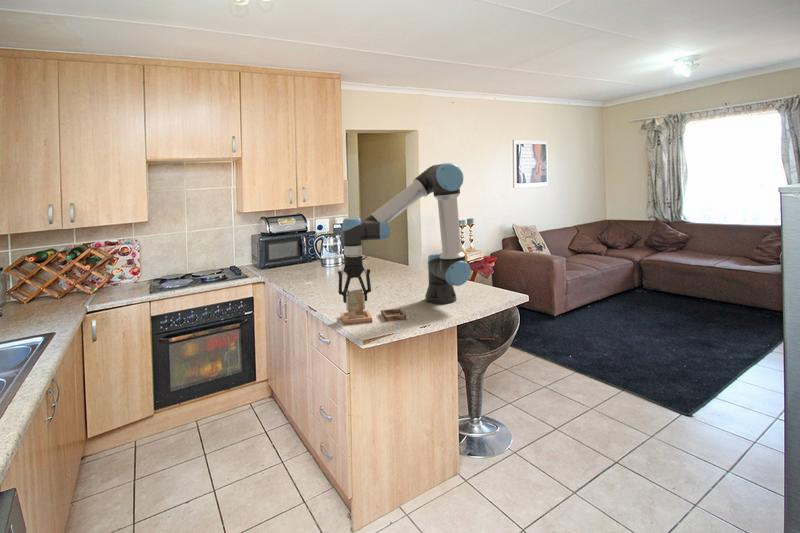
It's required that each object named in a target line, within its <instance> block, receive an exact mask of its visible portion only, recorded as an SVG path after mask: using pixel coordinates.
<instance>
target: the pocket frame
mask: <svg viewBox="0 0 800 533" xmlns="http://www.w3.org/2000/svg"><path fill="white" fill-rule="evenodd" d="M380 315H381V316H382V318H383V320H384V322H396V321H405V320H406V321H407V319H408V316H407V314H406V312H405V311H404V310H403V309H402V308H391V309H389V308H388V309H381V310H380Z"/></svg>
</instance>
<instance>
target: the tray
mask: <svg viewBox="0 0 800 533" xmlns="http://www.w3.org/2000/svg"><path fill="white" fill-rule="evenodd" d="M363 313H364V318H356V319H349V317H348V311H343V312H340V318H341V322H342V325H343V326H350V325H359V324H361V325H362V324H370V323H373V316H372V315H371V312H370V311H369V310H366V309H365V310H363Z"/></svg>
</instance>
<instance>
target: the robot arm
mask: <svg viewBox="0 0 800 533" xmlns="http://www.w3.org/2000/svg"><path fill="white" fill-rule="evenodd" d="M463 183H464V173H463V171H462V169H461V168H460V167H459V166H458V165H457V164H454V163H452V162H450V163H449V162H448V163H447V162H445V163H441V164H433V165H431V166H429V167H428V168H426V169H425V170H424V171H423V172H421V173H420V174H419V175H417V177H416V176H415V178H414V179H413V180H412V183H411V184H409V185H408V186H406V187H405V188H404V189H403V190H402V191H400V192H399V193H397V195H395V196H394V197H392V198H391V199H389V201H387V202H386V203H385V204H383V205H381V207H379V208H378V209H377V210H375V211H374V212H373V213H371V214H370V215H369V216H368V217H366V218H365V219H361V218H359V217H350V218H349V217H347V218H344V219H343V220H342V238H343V240H342V241H343V256H344V257H343V259H344V260H343V262H344V267H343V269H341V270H340V269H339V270H337V275H338V294H339V295H341V296H342V300H343V303H344V304H345V307H346V308H345V310H346V312H348V311H349V305H348V295H347V290H349V287H350V283H351V280H352V279H353V278H355V279H356V278H357V279H358V281H359V284H360V286H361V289H362V290H363V311H365V310H366V302H368V294H369V293H371V292H372V286H371V278H370V277H371V276H370V274H371V269H370V268H365V267H364V265H363V256H362V255H363V244H362V242H363V241H377V240H379V241H381V240H386V239H389V237H390V234H391V233H390V231H391V228H390V225H389V223H390V222H391V221H392V220H394V219H395V218H396V217H398V216H399V215H400V214H402V213H403V212H404V211H406V210H407V209H408V208H410V206H412V205H413V204H414V203H416V202H417V201H419V200H420V199H421V198H422V197H424V198H425V197H427V196H429V195H430V194H433V197H434V198H435V199H436V200H437V208H438V218H439V229H440V230H439V231H440V239H441V240H440V242H441V253H436V254H435V253H433V254H430V255H428V259H427V270H428V272H427V273H428V275H427V276H428V286H427V290H426V292H425V295H424V296H425V297H424V298H425V299H424V300H425V302H427V303H431V304H436V305H437V304H439V305H441V304H443V305H444V304H451V303H455V302H456V301H457V294H456V290H455V288H454V286H455V287H459V286H460V287H461V286H463V285H464V284H466V283H467V281H468V280H469V279H470V278H471V274H472V270H471V267H470V264H469V263H468V262H467V261H466V254H465V253H464V252H463V251H462V242H461V230H460V219H459V208H458V207H459V206H458V197H459V196H460V195H461V188H462V185H463ZM363 272H364V274H365V280H366V286H365V283H364V281H363V278H362V274H363ZM344 273H345V274H346V280H345V284H344V288H343V276H344ZM366 287H367V289H366Z"/></svg>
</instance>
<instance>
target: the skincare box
mask: <svg viewBox="0 0 800 533" xmlns="http://www.w3.org/2000/svg"><path fill="white" fill-rule="evenodd" d="M363 293H364V292H363V289H362V288H353V289H351V288H350V289H349V288H348V290H347V295H348V305H349V311H347V312H348V317H349V319H356V318H364V313H363V311H364V310H363Z"/></svg>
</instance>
